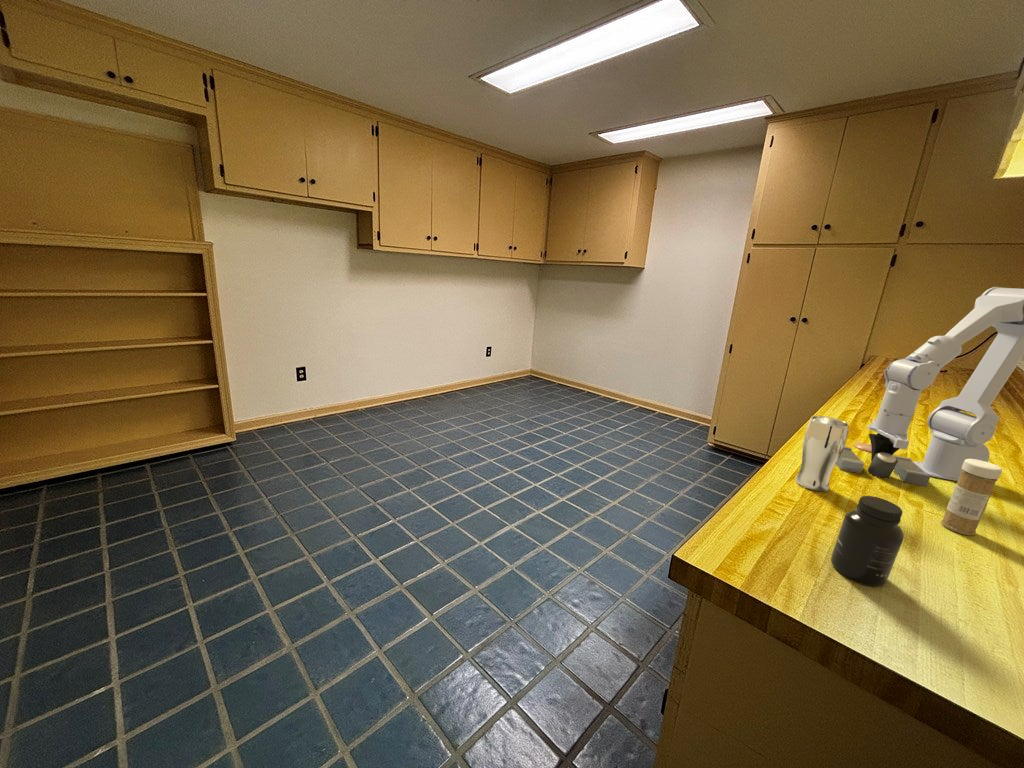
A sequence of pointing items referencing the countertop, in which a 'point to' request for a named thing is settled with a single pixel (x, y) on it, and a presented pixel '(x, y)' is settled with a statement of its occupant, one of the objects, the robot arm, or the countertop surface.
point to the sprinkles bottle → (970, 496)
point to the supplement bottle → (869, 541)
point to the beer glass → (821, 451)
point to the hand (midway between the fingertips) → (877, 465)
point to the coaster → (863, 447)
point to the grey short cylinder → (882, 465)
